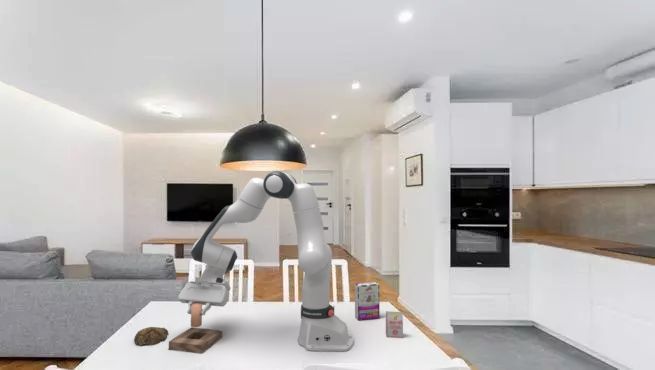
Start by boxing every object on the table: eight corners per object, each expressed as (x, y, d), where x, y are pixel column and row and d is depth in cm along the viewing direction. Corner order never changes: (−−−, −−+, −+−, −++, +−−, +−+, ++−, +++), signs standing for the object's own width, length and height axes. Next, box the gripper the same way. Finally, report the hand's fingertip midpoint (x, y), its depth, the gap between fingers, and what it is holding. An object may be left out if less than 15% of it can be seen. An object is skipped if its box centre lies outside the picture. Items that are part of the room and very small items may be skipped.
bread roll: (136, 335, 139) (136, 323, 139) (169, 331, 143) (169, 320, 143) (130, 349, 127) (130, 335, 127) (166, 344, 131) (167, 331, 131)
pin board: (221, 337, 137) (221, 330, 137) (202, 353, 123) (202, 345, 123) (191, 334, 139) (191, 327, 140) (168, 349, 126) (168, 341, 126)
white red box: (385, 333, 142) (385, 309, 142) (401, 334, 142) (401, 310, 142) (386, 337, 138) (386, 312, 139) (403, 338, 138) (403, 313, 138)
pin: (203, 323, 133) (204, 303, 133) (197, 327, 129) (198, 306, 129) (194, 322, 134) (195, 302, 134) (188, 326, 130) (189, 305, 130)
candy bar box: (375, 315, 164) (375, 281, 165) (379, 318, 159) (379, 284, 160) (354, 317, 161) (354, 282, 162) (358, 321, 156) (358, 285, 157)
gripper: (184, 276, 141) (168, 307, 131) (229, 280, 137) (216, 312, 127) (190, 284, 145) (175, 315, 135) (234, 288, 141) (221, 320, 131)
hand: (195, 314), depth 131 cm, fingers closed on pin, 4 cm apart
